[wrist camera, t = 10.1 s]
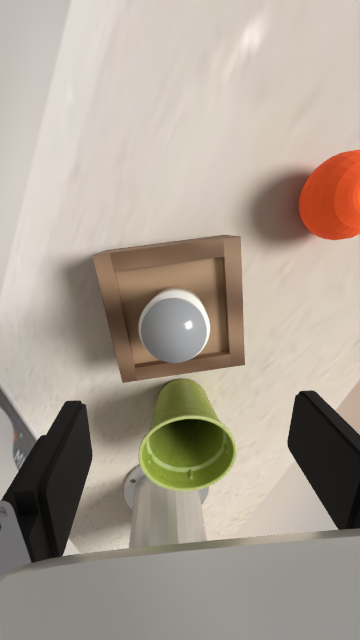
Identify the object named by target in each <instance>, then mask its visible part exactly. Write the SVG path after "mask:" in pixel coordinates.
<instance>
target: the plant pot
mask: <svg viewBox="0 0 360 640" xmlns="http://www.w3.org/2000/svg"><path fill="white" fill-rule="evenodd" d="M236 455H237V446H236V442H235V439H234V437H233V435H232V433H231V432H230V431H229V429H228V428H227V427H226V426H225V425H223V424H222V423H221V421H220V420H219V419H218V418H217V416H216V414H215V412H214V410H213V408H212V406H211V404H210V402H209V400H208V398H207V396H206V393H205V391H204V390H203V388H202V387H201V386H200V385H198V384H197V383H196V382H194V381H192V380H189V379H177V380H174V381H171V382H169V383H168V384H167V385H166V386H165V387H164V388H163V389H162V390H161V391H160V393H159V395H158V399H157V404H156V408H155V412H154V416H153V421H152V425H151V427H150V429H149V431H148V432H147V434H146V435H145V436H144V438H143V440H142V442H141V444H140V448H139V456H138V457H139V463H140V466H141V469H142V471H143V472H144V474H145V475H146V476H147V477H148V478H149V479H150V480H151V481H152V482H154V483H155V484H157V485H158V486H161V487H163V488H166V489H169V490H174V491H194V490H199V489H203V488H206V487H208V486H210V485H212V484H214V483H216V482H218V481H219V480H221V479H222V478H223V477H224V476H225V475H226V474H227V473H228V472H229V471H230V469H231V468H232V466H233V464H234V462H235V459H236Z"/></svg>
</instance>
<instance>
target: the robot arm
mask: <svg viewBox="0 0 360 640" xmlns="http://www.w3.org/2000/svg"><path fill="white" fill-rule="evenodd" d="M288 448H289V450H290V452H291V454H292V455H293V457H294V458H295V460H296V462H297V463H298V465H299V467H300V468H301V470H302V471H303V473H304V475H305V476H306V478H307V480H308V481H309V483H310V484H311V486H312V488H313V489H314V491H315V492H316V494H317V496H318V497H319V499H320V501H321V502H322V504H323V505H324V507H325V509H326V510H327V511H328V514H329V515H330V517H331V518H332V520H333V522H334V523H335V525H336V527H337V528H338V529H339V530H331V531H319V532H308V533H307V532H306V533H295V534H282V535H271V536H259V537H248V538H236V539H225V540H213V541H207V539H206V532H205V526H204V519H203V513H202V506H201V505H202V503H203V502H204V501H205V499H206V497H207V495H208V492H209V486H208V487H206V488H203V489H199V490H194V491H174V490H169V489H166V488H163V487H161V486H158V485H157V484H155V483H154V482H152V481H151V480H150V479H149V478H148V477H147V476H146V475H145V474H144V472H143V471H142V469H141V466H140V465H138V466H137V467H136V468H134V469H133V470H132V471H131V472H130V474H129V475H128V477H127V478H126V481H125V484H124V490H123V494H124V499H125V502H126V504H127V505H128V506H129V508H130V509H131V510H132V521H131V531H130V542H129V548H128V549H118V550H110V551H101V552H92V553H83V554H75V555H68V556H63V557H62V555H63V553H64V550H65V547H66V544H67V541H68V537H69V534H70V531H71V528H72V524H73V521H74V518H75V514H76V511H77V508H78V505H79V501H80V498H81V495H82V491H83V488H84V485H85V482H86V478H87V475H88V472H89V468H90V465H91V462H92V447H91V440H90V432H89V425H88V417H87V409H86V405H85V404H82V403H81V401H66V402H65V403H64V405H63V407H62V409H61V410H60V412H59V414H58V415H57V417H56V419H55V421H54V422H53V424H52V426H51V428H50V429H49V431H48V433H47V435H42V436H41V437H40V438H39V439H38V440H37V442H36V444H35V445H34V447H33V449H32V450H31V452H30V454H29V455H28V457H27V459H26V460H25V462H24V463H23V465H22V467H21V468H20V470H19V472H18V473H17V475H16V477H15V478H14V480H13V482H12V484H11V485H10V487H9V488H8V490H7V492H6V493H5V495H4V496H3V499H2V500H1V501H0V640H360V435H359V434H358V433H357V432H356V431H355V430H354V429H353V428H352V427H351V426H350V425H349V424H348V423H347V422H346V421H345V420H344V419H343V418H342V417H340V415H339V414H338V413H337V412H336V411H335V410H334V409H333V408H332V407H331V406H330V405H328V404H327V403H326V402H325V401H324V400H323V399H322V398H321V397H320V396H319V395H318V394H317V393H316V392H315V391H300V392H299V394H298V395H296V397H295V401H294V407H293V413H292V419H291V424H290V430H289V436H288Z"/></svg>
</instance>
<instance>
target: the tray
mask: <svg viewBox="0 0 360 640" xmlns="http://www.w3.org/2000/svg"><path fill="white" fill-rule="evenodd" d="M92 257H93V261H94V265H95V269H96V274H97V278H98V282H99V286H100V290H101V294H102V299H103V303H104V307H105V311H106V315H107V320H108V324H109V328H110V332H111V336H112V340H113V345H114V349H115V353H116V357H117V361H118V366H119V370H120V374H121V378H122V382H123V383H124V382H131V381H138V380H144V379H151V378H158V377H165V376H172V375H178V374H185V373H192V372H199V371H206V370H213V369H219V368H226V367H233V366H240V365H245V358H244V327H243V297H242V266H241V237H240V236H230V235H220V236H213V237H205V238H197V239H190V240H182V241H174V242H167V243H159V244H151V245H144V246H136V247H128V248H121V249H113V250H106V251H103V252H101V253H98V254H96V255H94V256H92ZM169 287H184V288H187V289H189V290H191V291H193V292H194V293H195V294H196V295H197V296H198V297H199V298H200V300H201V302H202V304H203V306H204V308H205V311H206V313H207V315H208V318H209V322H210V334H209V338H208V341H207V343H206V345H205V347H204V348H203V350H202V351H201V352H200V353H199V354H198V355H196V356H195V357H193V358H191V359H189V360H187V361H184V362H180V363H168V362H164V361H161V360H159V359H157V358H156V357H154V356H153V355H152V354H150V353H149V352H148V351H147V349H146V348H145V347H144V345H143V344H142V341H141V339H140V336H139V320H140V316H141V314H142V312H143V310H144V308H145V307H146V306H147V305H148V304H149V302H150V301H151V300H152V299H153V298H154V297H155V296H156V295H157V294H158V293H159V292H161V291H162V290H164V289H166V288H169Z"/></svg>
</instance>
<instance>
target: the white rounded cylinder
mask: <svg viewBox="0 0 360 640" xmlns="http://www.w3.org/2000/svg"><path fill="white" fill-rule="evenodd" d="M209 334H210V322H209V318H208V315H207V313H206V311H205V308H204V306H203V304H202V302H201V300H200V298H199V297H198V296H197V295H196V294H195V293H194V292H193V291H191V290H189V289H187V288H184V287H169V288H166V289H164V290H162V291H161V292H159V293H158V294H157V295H156V296H155V297H154V298H153V299H152V300H151V301H150V302H149V304H148V305H147V306H146V307H145V308H144V310H143V312H142V314H141V316H140V320H139V336H140V339H141V341H142V344H143V345H144V347H145V348H146V349H147V351H148V352H149V353H150V354H152V355H153V356H154V357H156V358H157V359H159V360H161V361H164V362H168V363H180V362H184V361H187V360H189V359H191V358H193V357H195V356H196V355H198V354H199V353H200V352H201V351H202V350H203V348H204V347H205V345H206V343H207V341H208V338H209Z"/></svg>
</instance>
